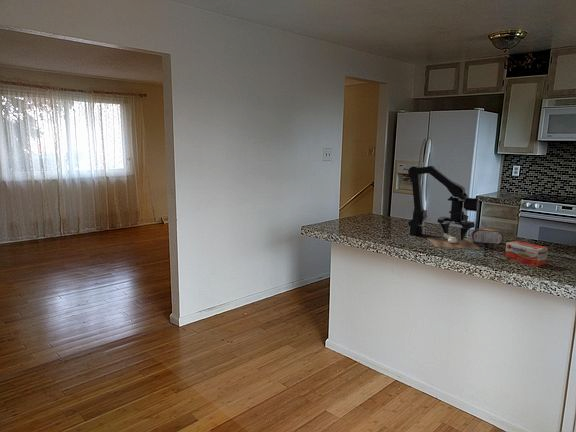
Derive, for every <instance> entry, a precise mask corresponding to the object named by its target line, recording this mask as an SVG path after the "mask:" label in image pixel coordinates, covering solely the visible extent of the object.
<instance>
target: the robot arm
mask: <svg viewBox="0 0 576 432" xmlns="http://www.w3.org/2000/svg"><path fill="white" fill-rule="evenodd" d="M407 173H408V178H409V180H410V181H411V186H412V187H411V188H412V196H413V197H412V198H413V199H412V200H413V212H412V219H410V220H409V221H408V223H407V224H408V235H410V236H417V237H418V236H422V235H423V228H422V225H423V223H425V222H426V220H427V218H428V214H427V211H428V210H427V209H424V207H423V198H422V197H423V196H422V188H421V186H422V185H421V180H422V177H423V176H422V175H423V174H424V175H425V174H429V175H431V176H432V178H434V179H435V180H437V181H438V182H439V183H440V184H441V185H443V186H445V188H446V189H447V190H448V192H449V193H450V194H451V196H450V197H449V198H447V201H450V202H451V203H450V204H451V205H450V210H449V211H448V213H449V214H450V216H449V217H447V216H439V217H438V218H437V221H436V222H437V223H439V225H440V226H441V228H442V230H443V233H447V234H448V235H449V226H450V224H454V225H459V226H461V227H460V239H461V240H463V239H465V236H466V234H467V233H468V231H469V230H471V229H472V228H475V221H470V220H468V219H469V216H468V215H467V214H465V212H464V210H465V211H468V212H469V211H471V212H478V211H479V207H480V204H479V203H480V202H479V198H478V197H469V196H468V194H467V193H466V189H465V186H463V185H461V184H460V183H457V182H455V181H453V180H451V179H450V178H449V177H447V176H446V175H445V174H443V173H442V172H441V171H440V170H438V169H437V168H436V166H434V165H428V166H422V167H421V166H419V165H413V166H411V167H409V169H408V170H407ZM463 209H464V210H463Z"/></svg>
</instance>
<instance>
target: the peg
mask: <svg viewBox="0 0 576 432" xmlns="http://www.w3.org/2000/svg"><path fill="white" fill-rule="evenodd" d="M441 237H442V238H443V237H444V238H448V242H449V243H457V239H458V238H457V237H456V236H452V235H450V234H449V233H448V234H447V233H444V232H442V234H441Z"/></svg>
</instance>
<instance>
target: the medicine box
mask: <svg viewBox="0 0 576 432" xmlns="http://www.w3.org/2000/svg"><path fill="white" fill-rule="evenodd" d="M505 243H506V244H505V248H504V254H503V255H504V257H506V259H507V260H508V261H513V262H516V263H519V264H523V265H527V266H530V267H534V268H537V267H541V266H544V265H546V264H547V260H548V249H549V248H548V247H546V246H542V245H538V244H537V245H536V244H533V243H530V242H529V243H528V242H523V241H520V240H514V241H510V242H505Z"/></svg>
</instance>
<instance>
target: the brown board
mask: <svg viewBox="0 0 576 432" xmlns="http://www.w3.org/2000/svg"><path fill="white" fill-rule="evenodd" d="M426 238H427V240H428V241H429V242H430V243H431V244H432V245H433V246H434V247H435V248H450V249H453V248H454V249H475V250H480V249H481V247H480V246H478V245H476V244H475V242H472V241H471V240H469V238H468V239H467V238H463V240H461V238H456V239H457V243H449V242H448V238H446V237H444V238H443V237H426Z"/></svg>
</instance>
